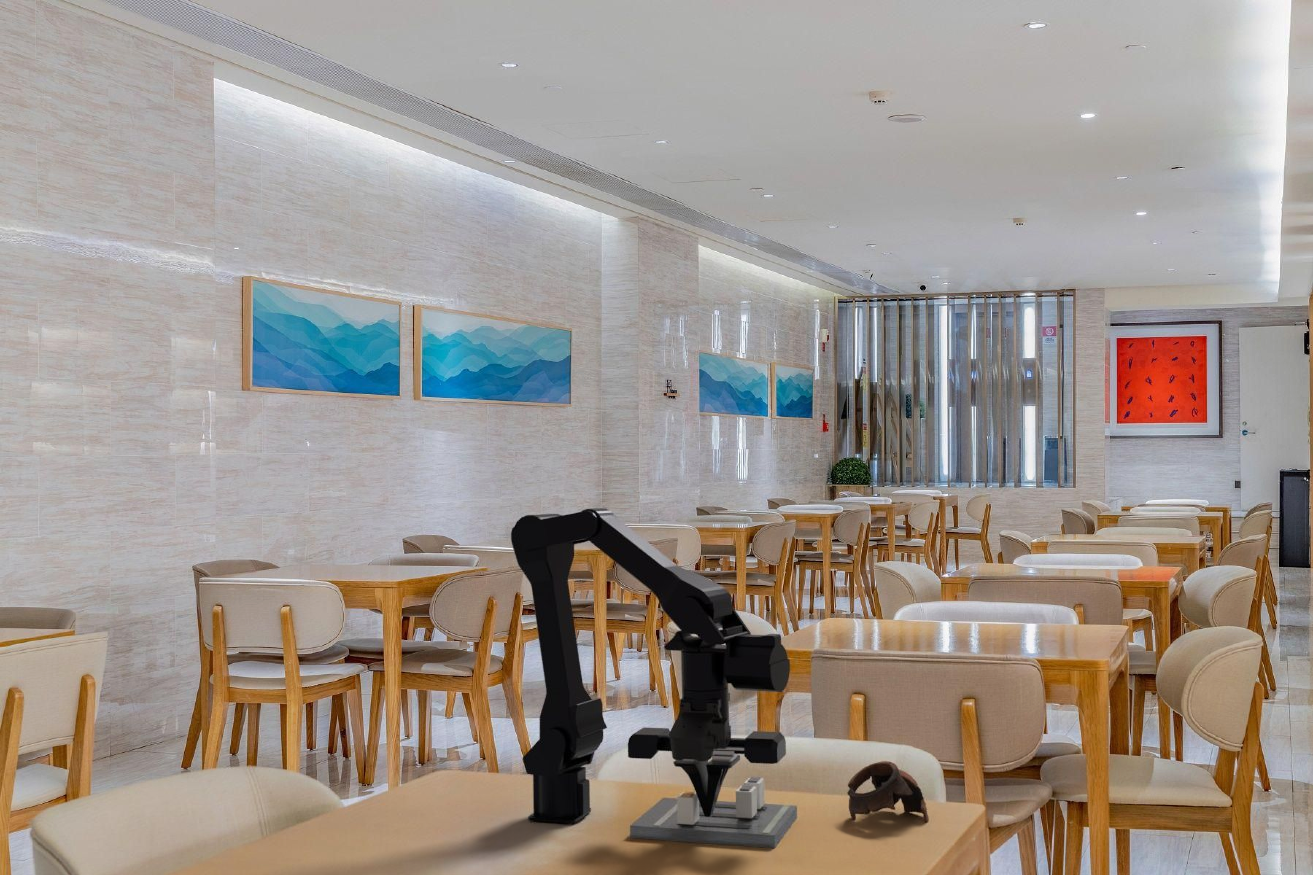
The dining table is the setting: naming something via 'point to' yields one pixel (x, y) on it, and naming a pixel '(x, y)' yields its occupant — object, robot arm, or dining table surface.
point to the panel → (716, 825)
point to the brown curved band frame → (885, 790)
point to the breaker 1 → (687, 808)
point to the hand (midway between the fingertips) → (708, 816)
